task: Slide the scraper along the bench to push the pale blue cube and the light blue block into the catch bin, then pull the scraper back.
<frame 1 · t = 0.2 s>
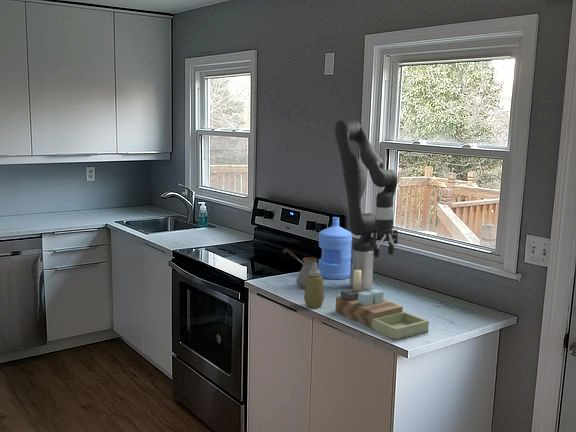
hand: (383, 255, 252), 17 cm above the countertop, tool pointing down, fingers open, 8 cm apart
light blue block 2: (375, 301, 227), point 6 cm above the countertop, touching bench
catch bin: (399, 330, 214), on the countertop
water jug: (333, 275, 285), on the countertop
squeeze bottle: (313, 306, 239), on the countertop
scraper: (356, 296, 232), point 6 cm above the countertop, touching bench
coffee pot: (300, 285, 268), on the countertop
pale blue cube 1: (365, 303, 224), point 6 cm above the countertop, touching bench
bench: (367, 316, 227), on the countertop
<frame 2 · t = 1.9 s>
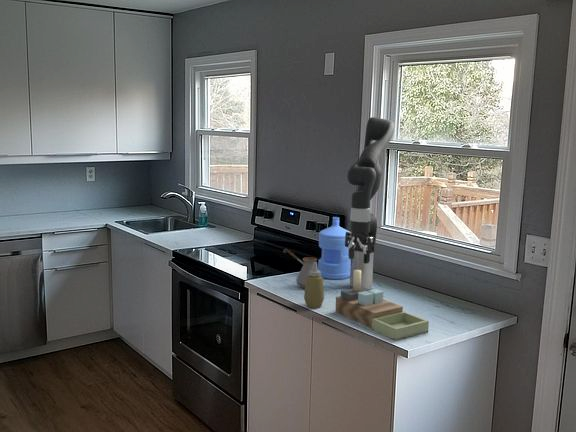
hand: (358, 260, 230), 20 cm above the countertop, tool pointing down, fingers open, 8 cm apart
nothing on the countertop moved.
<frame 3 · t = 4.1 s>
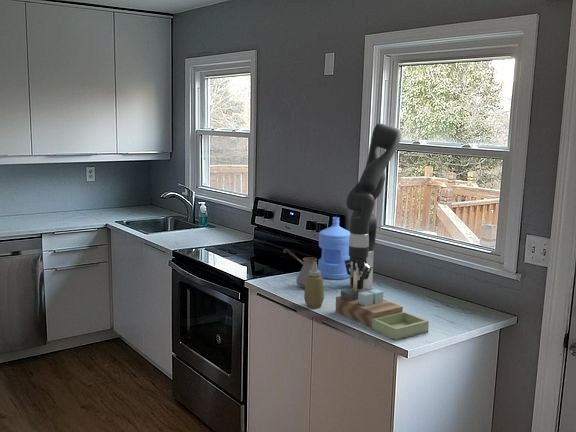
hand: (356, 287, 231), 10 cm above the countertop, tool pointing down, fingers closed on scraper, 3 cm apart
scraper: (356, 296, 232), point 6 cm above the countertop, touching bench, gripper
everything else where it was.
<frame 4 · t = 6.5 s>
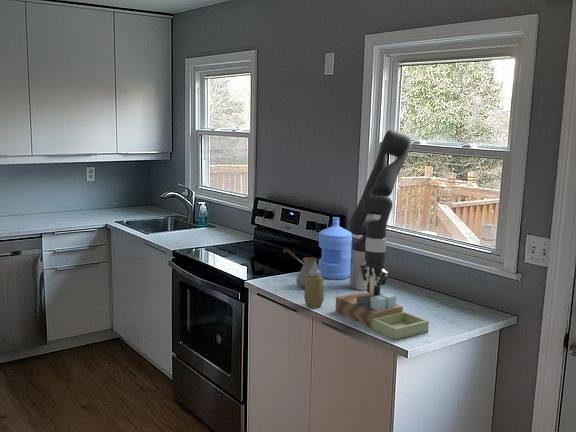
hand: (373, 293, 224), 10 cm above the countertop, tool pointing down, fingers closed on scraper, 3 cm apart
light blue block 2: (387, 305, 222), point 6 cm above the countertop, touching bench
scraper: (372, 303, 224), point 6 cm above the countertop, touching gripper, pale blue cube 1
pale blue cube 1: (377, 308, 219), point 6 cm above the countertop, touching bench, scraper
everything else where it was.
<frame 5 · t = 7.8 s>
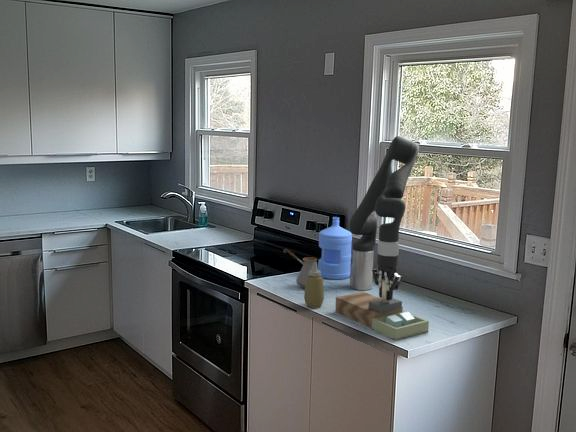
hand: (385, 298, 218), 10 cm above the countertop, tool pointing down, fingers closed on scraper, 3 cm apart
light blue block 2: (402, 316, 217), point 4 cm above the countertop, tilted 112°
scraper: (385, 308, 219), point 6 cm above the countertop, touching gripper
pale blue cube 1: (390, 320, 214), point 3 cm above the countertop, tilted 102°, touching catch bin
everything else where it was.
when the fingers open (10 cm above the countertop, at t = 11.1 s): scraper stays where it is, resting on bench.
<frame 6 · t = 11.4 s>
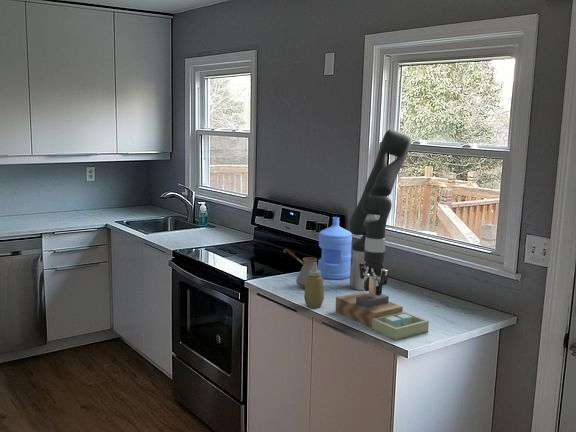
hand: (372, 292, 224), 10 cm above the countertop, tool pointing down, fingers open, 5 cm apart
light blue block 2: (400, 319, 218), point 2 cm above the countertop, tilted 90°, touching catch bin
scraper: (372, 303, 225), point 6 cm above the countertop, touching bench
pale blue cube 1: (388, 322, 215), point 2 cm above the countertop, tilted 90°, touching catch bin
everything else where it was.
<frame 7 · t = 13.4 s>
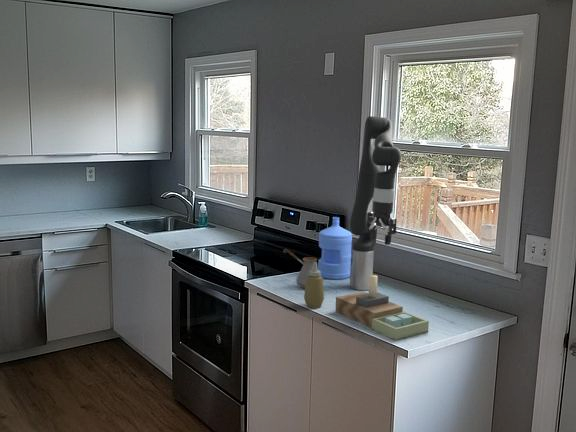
hand: (379, 241, 228), 28 cm above the countertop, tool pointing down, fingers open, 8 cm apart
nothing on the countertop moved.
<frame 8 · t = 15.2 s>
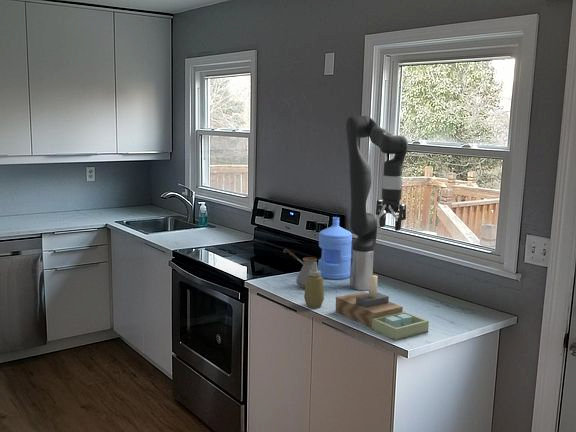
hand: (389, 228, 234), 32 cm above the countertop, tool pointing down, fingers open, 8 cm apart
nothing on the countertop moved.
at the end: pale blue cube 1 inside the target area on the catch bin (4.1 cm from its centre), point 2.5 cm above the catch bin's base; light blue block 2 inside the target area on the catch bin (4.7 cm from its centre), point 2.5 cm above the catch bin's base; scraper inside the target area (1.4 cm from its centre), point 6.0 cm above the countertop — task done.
